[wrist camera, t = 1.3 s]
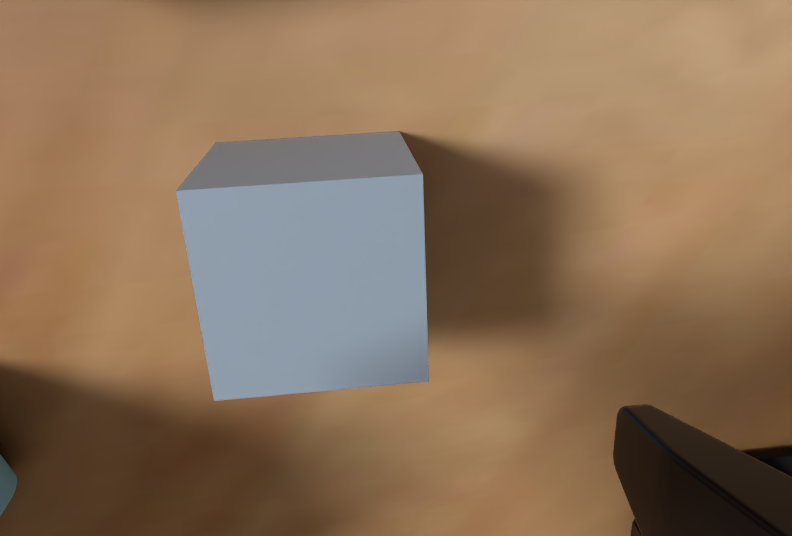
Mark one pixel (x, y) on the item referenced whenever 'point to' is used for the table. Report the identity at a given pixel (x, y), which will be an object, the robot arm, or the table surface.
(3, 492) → the data package
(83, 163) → the table surface
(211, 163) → the blue cube
